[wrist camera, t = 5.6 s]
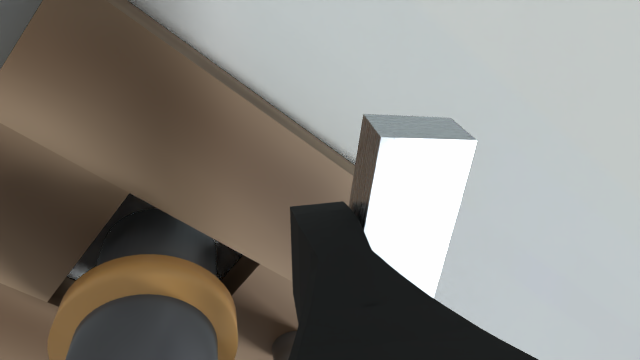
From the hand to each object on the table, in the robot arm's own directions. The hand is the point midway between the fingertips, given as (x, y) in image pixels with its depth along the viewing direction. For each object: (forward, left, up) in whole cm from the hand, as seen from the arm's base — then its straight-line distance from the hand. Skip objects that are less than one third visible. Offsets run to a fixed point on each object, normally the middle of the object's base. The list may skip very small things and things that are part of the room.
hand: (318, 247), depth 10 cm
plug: (-7, 0, -8) cm, 11 cm away
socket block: (-7, 0, -8) cm, 11 cm away
